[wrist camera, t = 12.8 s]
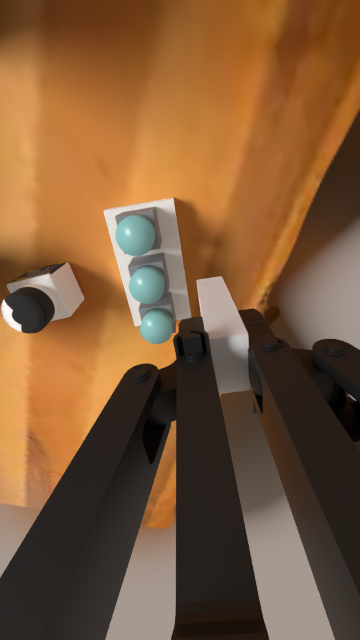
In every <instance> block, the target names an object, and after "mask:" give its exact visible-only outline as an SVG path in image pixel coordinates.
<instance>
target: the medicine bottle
mask: <svg viewBox="0 0 360 640" xmlns="http://www.w3.org/2000/svg"><path fill="white" fill-rule="evenodd" d="M6 286H7V288H8V290H9V292H10V295H9V296H7V297H6V298H5V299H4V300H3V302H2V305H1V312H2V315H3V318H4V319H5V321H6V322H7V323H8V324H9V325H10V326H11V327H12V328H14V329H16V330H18V331H20V332H24V333H37V332H39V331H41V330H42V329H43V328H44V327H45V326H46V325H47V324H48V323H49V322H50V321H54V320H59V319H63V318H68V317H70V316H71V315H72V314H73V313H74V312H75V310H76V309H77V308H78V307H79V305H80V304H81V303H82V302H83V300H84V296H83V294H82V292H81V289H80V287H79V285H78V283H77V280H76V278H75V276H74V274H73V271H72V269H71V267H70V265H69V263H68V262H62V263H58V264H54V265H50V266H46V267H42V268H38V269H34V270H30V271H28V272H27V273H25V274H23V275H22V276H20V277H18V278H17V279H15V280H13V281H12V282H10V283H8V284H7V285H6Z"/></svg>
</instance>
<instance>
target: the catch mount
mask: <svg viewBox="0 0 360 640" xmlns="http://www.w3.org/2000/svg"><path fill="white" fill-rule="evenodd" d="M132 214H141V215H144V216H146V217H147V218H149V219H150V220H151V222H152V223H153V225H154V227H155V230H156V238H155V241H154V244H153V246H152V248H151V249H150V251H149V252H147V253H146V254H144V255H142V256H131V255H128V254H126V253H125V252H123V251H122V250H121V249H120V247H119V246H118V244H117V241H116V236H115V234H116V229H117V226H118V224H119V223H120V222H121V221H122V220H123V219H125V218H126V217H128V216H129V215H132ZM104 215H105V219H106V222H107V226H108V230H109V233H110V237H111V241H112V244H113V248H114V252H115V255H116V259H117V263H118V267H119V270H120V274H121V278H122V281H123V285H124V289H125V292H126V296H127V300H128V303H129V307H130V311H131V314H132V318H133V322H134V326H141V322H142V318H143V315H144V314H145V313H146V312H147V311H148V310H150V309H152V308H162V309H164V310H166V311H168V312H169V313H170V315H171V317H172V320H173V327H172V333H175V332H176V321H177V320H183V319H188V318H191V310H190V303H189V297H188V290H187V283H186V277H185V270H184V264H183V257H182V250H181V244H180V237H179V230H178V224H177V217H176V211H175V204H174V197H173V198H168V199H162V200H156V201H150V202H144V203H138V204H133V205H127V206H121V207H115V208H109V209H106V210H104ZM143 265H152V266H155V267H157V268H158V269H160V271H161V272H162V273H163V275H164V278H165V286H164V292H163V295H162V297H161V298H160V299H159V300H158V301H156V302H154V303H151V304H144V303H141V302H138V301H137V300H135V299H134V298H133V297H132V295H131V293H130V291H129V282H130V279H131V277H132V275H133V273H134V271H135V270H136V269H137V268H139V267H140V266H143Z"/></svg>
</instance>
